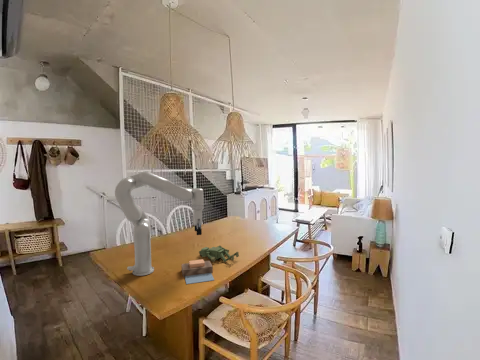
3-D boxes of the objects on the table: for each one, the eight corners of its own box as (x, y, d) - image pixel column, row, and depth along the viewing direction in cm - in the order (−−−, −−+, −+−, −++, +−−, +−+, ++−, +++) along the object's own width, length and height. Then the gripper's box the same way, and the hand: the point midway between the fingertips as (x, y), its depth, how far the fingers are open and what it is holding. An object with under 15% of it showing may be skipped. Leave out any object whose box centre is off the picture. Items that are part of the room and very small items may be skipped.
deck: (182, 276, 153) (182, 270, 152) (181, 270, 162) (181, 264, 162) (212, 272, 158) (212, 266, 158) (209, 266, 167) (209, 260, 167)
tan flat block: (190, 267, 156) (189, 264, 156) (188, 264, 162) (188, 260, 162) (204, 265, 159) (204, 262, 159) (203, 262, 164) (203, 259, 164)
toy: (243, 256, 184) (208, 252, 198) (242, 246, 184) (208, 243, 198) (228, 267, 166) (191, 261, 180) (227, 255, 166) (190, 251, 180)
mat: (186, 284, 143) (186, 283, 143) (184, 276, 153) (184, 276, 153) (214, 280, 148) (214, 279, 148) (211, 273, 157) (211, 272, 157)
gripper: (190, 205, 175) (190, 230, 176) (193, 209, 158) (193, 237, 159) (201, 204, 177) (201, 229, 178) (205, 209, 160) (205, 236, 162)
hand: (198, 232), depth 169 cm, fingers open, 9 cm apart
